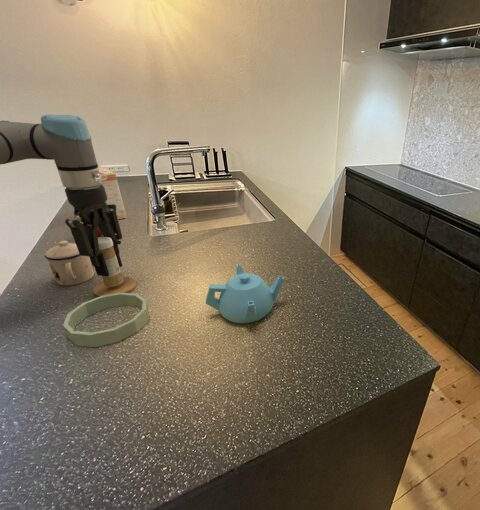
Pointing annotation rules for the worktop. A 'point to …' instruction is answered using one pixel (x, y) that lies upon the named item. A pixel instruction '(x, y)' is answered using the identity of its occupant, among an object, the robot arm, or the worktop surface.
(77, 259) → the teacup with lid
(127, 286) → the coaster
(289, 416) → the worktop surface
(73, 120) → the robot arm
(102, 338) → the green ring
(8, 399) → the worktop surface
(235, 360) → the worktop surface
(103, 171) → the coffeecake box
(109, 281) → the sprinkles bottle
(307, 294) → the worktop surface
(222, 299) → the teapot
